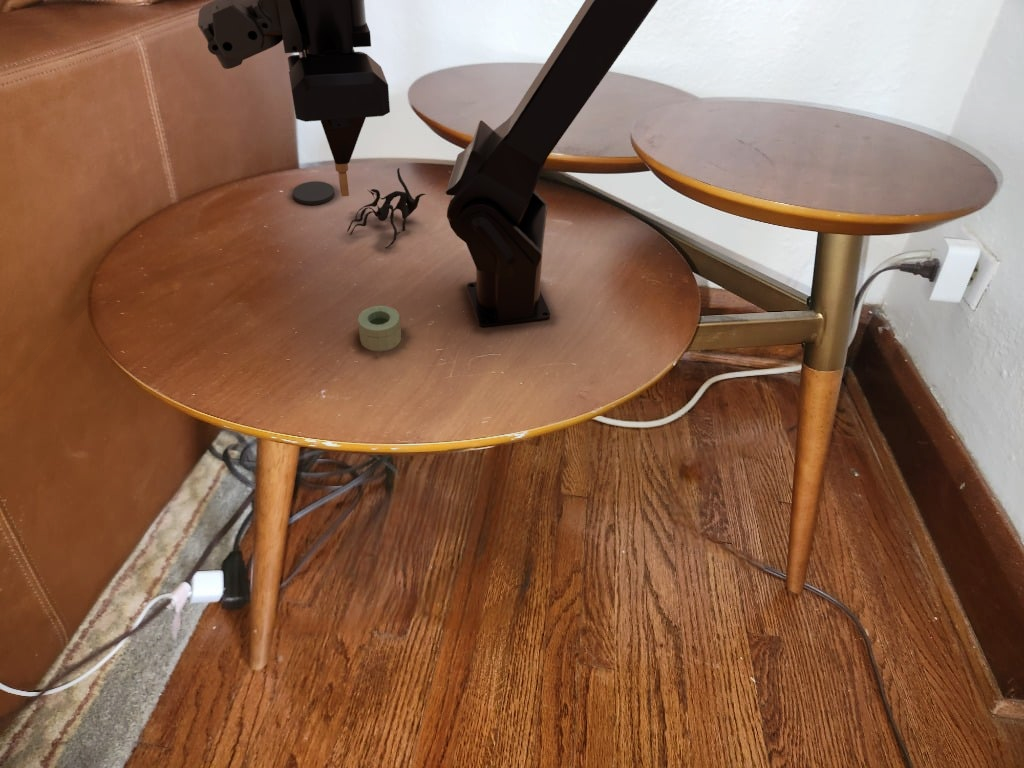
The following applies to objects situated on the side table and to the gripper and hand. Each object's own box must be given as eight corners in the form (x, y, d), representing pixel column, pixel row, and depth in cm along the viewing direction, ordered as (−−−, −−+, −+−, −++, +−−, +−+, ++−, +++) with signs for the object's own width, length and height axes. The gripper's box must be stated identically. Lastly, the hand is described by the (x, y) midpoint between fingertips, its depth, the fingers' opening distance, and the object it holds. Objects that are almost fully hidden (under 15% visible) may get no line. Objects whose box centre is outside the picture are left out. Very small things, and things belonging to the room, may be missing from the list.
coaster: (336, 203, 84) (335, 199, 83) (293, 206, 83) (293, 202, 82) (333, 183, 87) (332, 179, 87) (292, 187, 86) (291, 182, 86)
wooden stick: (351, 196, 65) (339, 87, 59) (339, 197, 64) (326, 88, 58) (349, 187, 66) (337, 80, 60) (337, 189, 65) (324, 81, 59)
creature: (369, 266, 77) (439, 231, 79) (352, 222, 73) (426, 186, 75) (339, 229, 82) (406, 197, 84) (322, 185, 78) (393, 153, 80)
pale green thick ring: (404, 350, 66) (402, 327, 64) (362, 356, 65) (359, 332, 63) (398, 326, 68) (396, 303, 67) (358, 331, 68) (355, 307, 66)
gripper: (194, -87, 57) (235, 119, 68) (185, -13, 44) (238, 229, 55) (347, -89, 60) (364, 110, 70) (382, -20, 47) (397, 213, 57)
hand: (341, 159), depth 63 cm, fingers closed on wooden stick, 1 cm apart
